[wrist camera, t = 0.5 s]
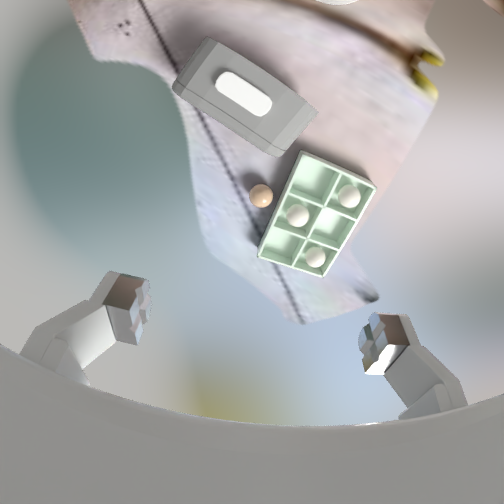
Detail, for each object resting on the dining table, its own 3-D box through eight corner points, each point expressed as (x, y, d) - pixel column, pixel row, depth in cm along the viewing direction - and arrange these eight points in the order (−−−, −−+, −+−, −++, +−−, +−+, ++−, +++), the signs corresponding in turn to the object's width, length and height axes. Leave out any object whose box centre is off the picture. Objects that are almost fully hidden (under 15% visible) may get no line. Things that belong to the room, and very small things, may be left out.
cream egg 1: (290, 196, 52) (292, 206, 49) (311, 204, 53) (314, 215, 49) (282, 215, 55) (282, 226, 51) (302, 222, 55) (304, 234, 52)
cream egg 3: (341, 177, 49) (347, 186, 46) (360, 186, 50) (367, 195, 46) (331, 197, 52) (336, 206, 48) (350, 205, 52) (356, 215, 49)
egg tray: (300, 149, 47) (302, 154, 45) (371, 181, 50) (377, 187, 47) (257, 247, 60) (256, 257, 57) (321, 268, 62) (323, 278, 60)
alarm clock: (185, 85, 41) (157, 87, 30) (215, 43, 37) (197, 30, 26) (278, 147, 48) (281, 169, 37) (311, 108, 43) (326, 117, 32)
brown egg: (254, 177, 51) (253, 185, 48) (276, 185, 52) (276, 194, 48) (246, 197, 54) (245, 207, 50) (268, 204, 54) (267, 214, 51)
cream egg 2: (309, 239, 58) (311, 251, 54) (327, 246, 58) (330, 258, 55) (300, 255, 60) (302, 268, 56) (318, 261, 61) (321, 274, 57)
